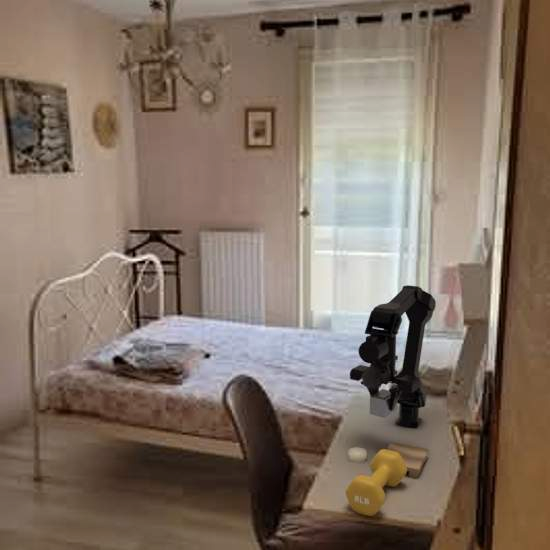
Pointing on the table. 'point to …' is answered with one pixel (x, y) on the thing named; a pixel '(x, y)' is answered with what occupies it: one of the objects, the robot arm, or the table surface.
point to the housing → (381, 404)
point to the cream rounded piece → (357, 454)
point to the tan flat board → (411, 457)
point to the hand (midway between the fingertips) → (383, 408)
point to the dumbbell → (376, 482)
